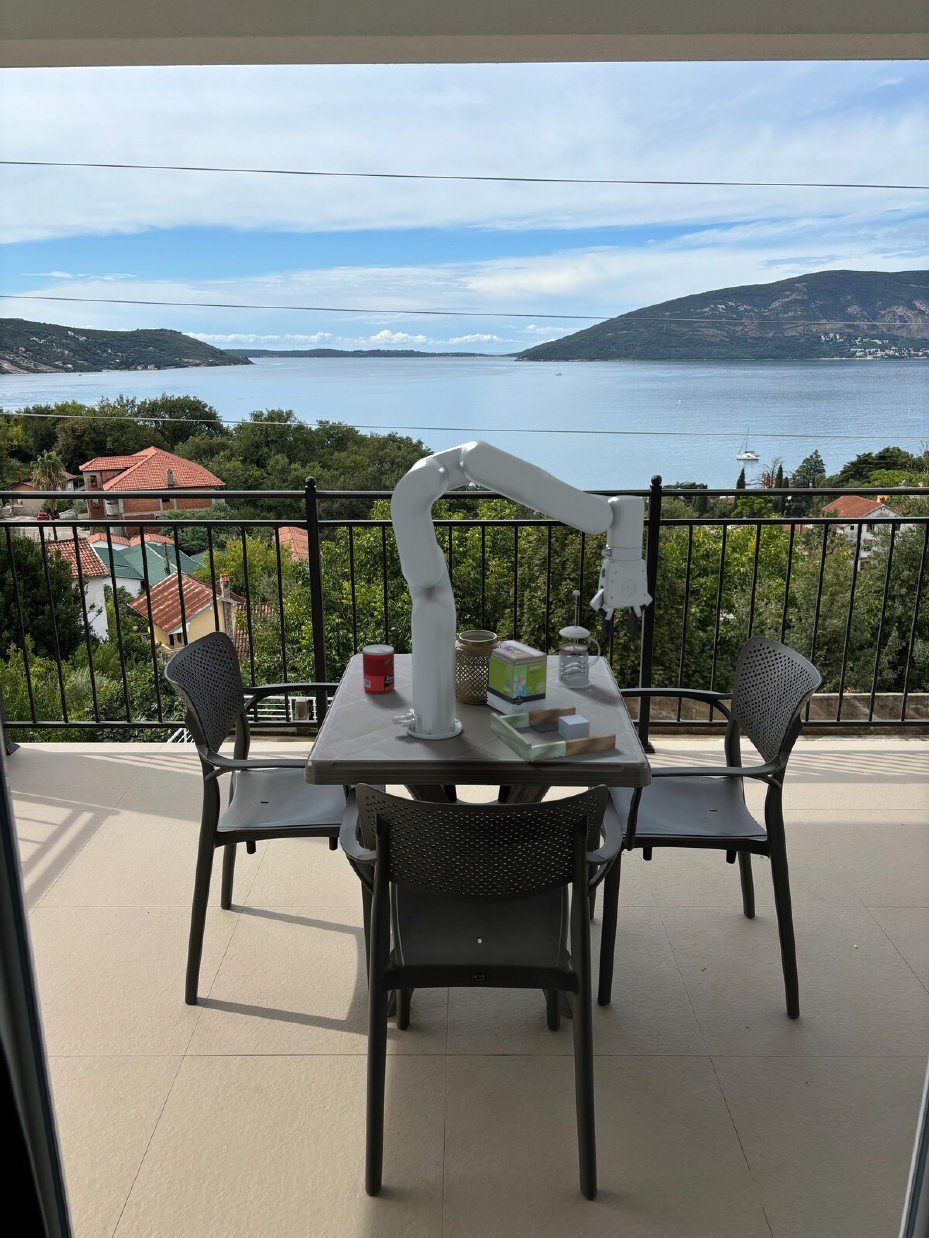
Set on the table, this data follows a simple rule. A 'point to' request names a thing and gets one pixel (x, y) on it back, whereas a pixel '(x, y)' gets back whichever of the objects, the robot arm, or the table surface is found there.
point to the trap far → (545, 727)
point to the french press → (574, 657)
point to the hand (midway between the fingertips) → (619, 633)
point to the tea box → (517, 678)
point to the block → (573, 727)
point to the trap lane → (524, 748)
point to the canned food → (378, 669)
